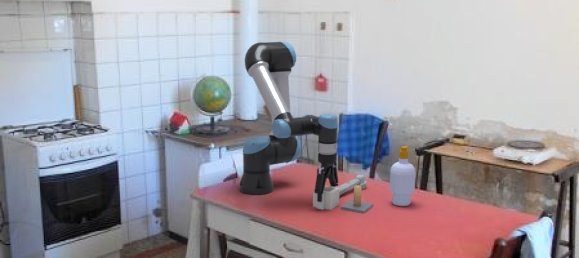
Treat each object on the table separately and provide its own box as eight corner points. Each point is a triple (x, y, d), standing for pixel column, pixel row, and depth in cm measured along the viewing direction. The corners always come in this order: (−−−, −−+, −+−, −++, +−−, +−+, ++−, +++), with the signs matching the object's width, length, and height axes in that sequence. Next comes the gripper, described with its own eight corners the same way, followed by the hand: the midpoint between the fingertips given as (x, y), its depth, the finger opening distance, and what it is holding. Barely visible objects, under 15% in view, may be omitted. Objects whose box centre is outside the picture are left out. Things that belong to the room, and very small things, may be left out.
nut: (312, 206, 242) (313, 190, 241) (321, 201, 249) (321, 185, 248) (330, 209, 238) (331, 193, 237) (338, 204, 245) (339, 188, 244)
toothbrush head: (325, 189, 253) (359, 170, 270) (326, 204, 255) (359, 184, 272) (335, 192, 250) (368, 172, 267) (336, 206, 251) (369, 186, 269)
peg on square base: (340, 209, 240) (341, 187, 238) (350, 202, 248) (351, 181, 246) (363, 213, 235) (364, 191, 233) (373, 206, 244) (373, 185, 242)
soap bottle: (418, 203, 247) (421, 147, 242) (405, 209, 240) (408, 151, 235) (397, 198, 254) (400, 143, 249) (383, 203, 247) (386, 147, 242)
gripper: (323, 159, 228) (322, 214, 232) (347, 148, 247) (345, 198, 252) (306, 157, 231) (305, 211, 235) (331, 146, 251) (329, 196, 255)
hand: (326, 205), depth 244 cm, fingers open, 11 cm apart
